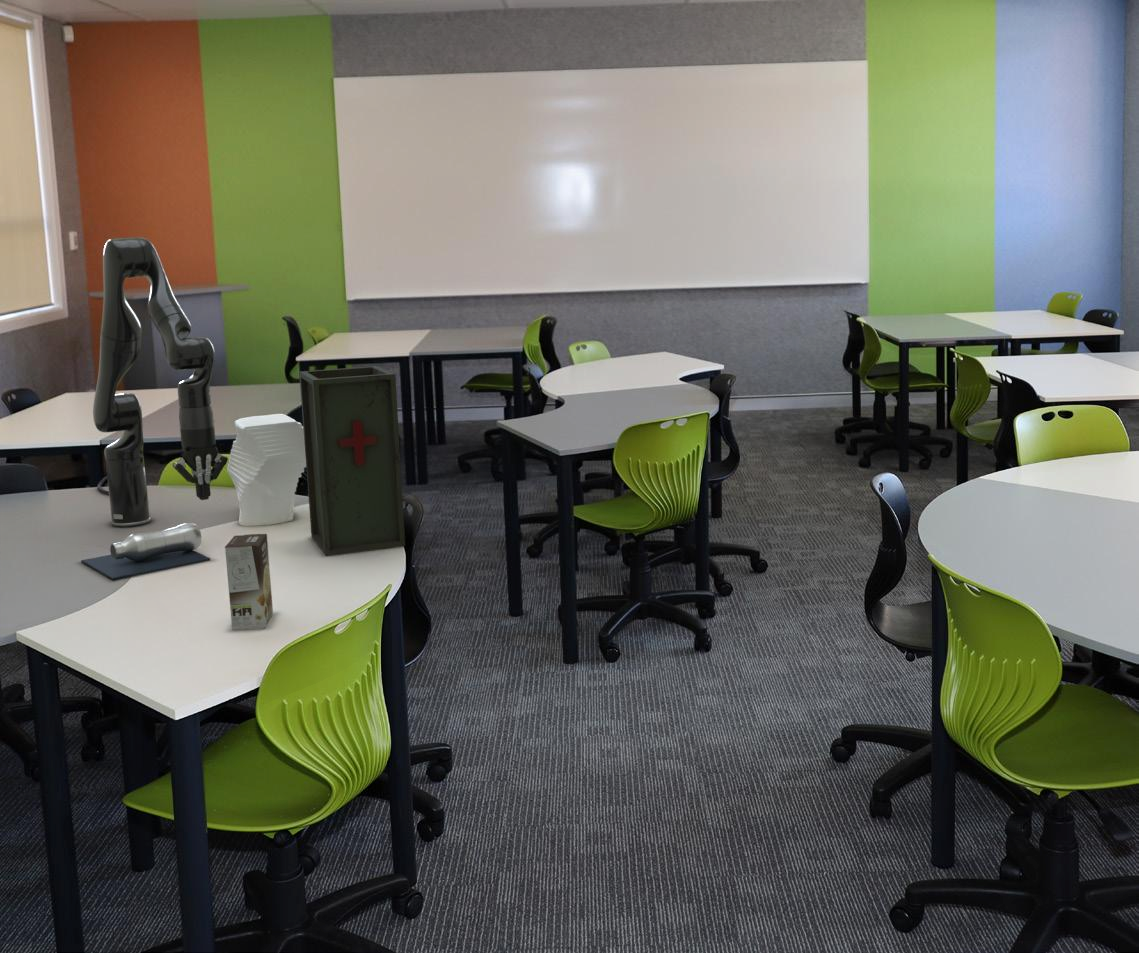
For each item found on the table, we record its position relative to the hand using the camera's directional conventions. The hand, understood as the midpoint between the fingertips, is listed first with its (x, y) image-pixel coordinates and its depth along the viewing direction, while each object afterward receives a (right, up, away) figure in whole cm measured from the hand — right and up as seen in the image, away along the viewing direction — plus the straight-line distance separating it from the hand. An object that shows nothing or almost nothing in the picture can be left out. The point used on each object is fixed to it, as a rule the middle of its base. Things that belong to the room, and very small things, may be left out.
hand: (203, 499), depth 282 cm
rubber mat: (-11, -14, -7) cm, 19 cm away
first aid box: (+35, -10, +5) cm, 37 cm away
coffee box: (+25, -22, -52) cm, 61 cm away
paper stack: (+8, -5, +34) cm, 35 cm away
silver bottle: (-1, -8, 0) cm, 8 cm away
